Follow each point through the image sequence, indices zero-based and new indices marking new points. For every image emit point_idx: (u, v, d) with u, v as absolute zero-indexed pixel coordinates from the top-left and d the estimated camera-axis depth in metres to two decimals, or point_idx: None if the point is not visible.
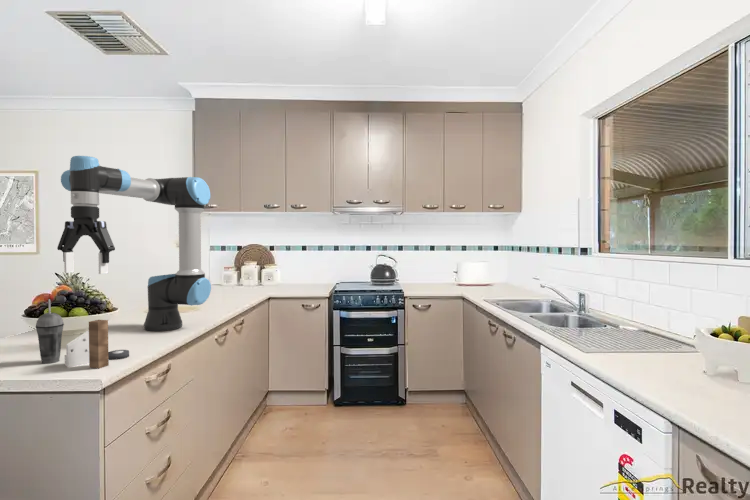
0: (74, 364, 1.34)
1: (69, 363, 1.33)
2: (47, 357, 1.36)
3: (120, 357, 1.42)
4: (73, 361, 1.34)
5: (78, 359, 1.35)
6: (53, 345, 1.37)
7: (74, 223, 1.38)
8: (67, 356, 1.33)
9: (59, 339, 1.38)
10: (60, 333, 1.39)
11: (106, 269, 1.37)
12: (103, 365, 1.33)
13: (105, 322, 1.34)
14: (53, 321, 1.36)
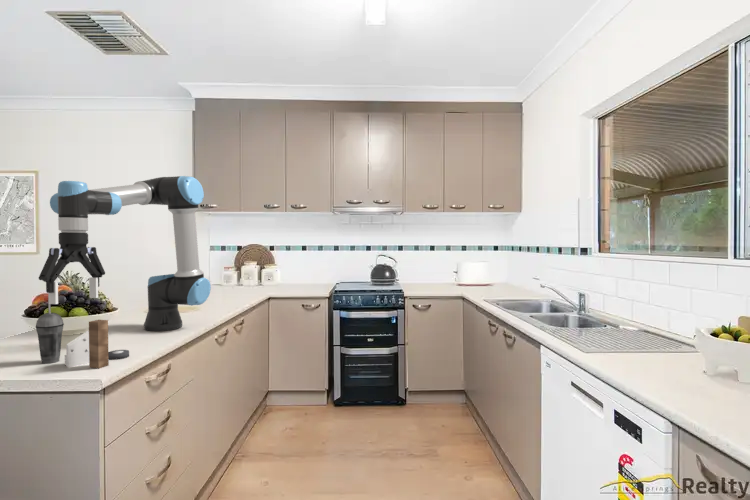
0: (74, 364, 1.34)
1: (69, 363, 1.33)
2: (47, 357, 1.36)
3: (120, 357, 1.42)
4: (73, 361, 1.34)
5: (78, 359, 1.35)
6: (53, 345, 1.37)
7: None
8: (67, 356, 1.33)
9: (59, 339, 1.38)
10: (60, 333, 1.39)
11: (54, 299, 1.28)
12: (103, 365, 1.33)
13: (105, 322, 1.34)
14: (53, 321, 1.36)
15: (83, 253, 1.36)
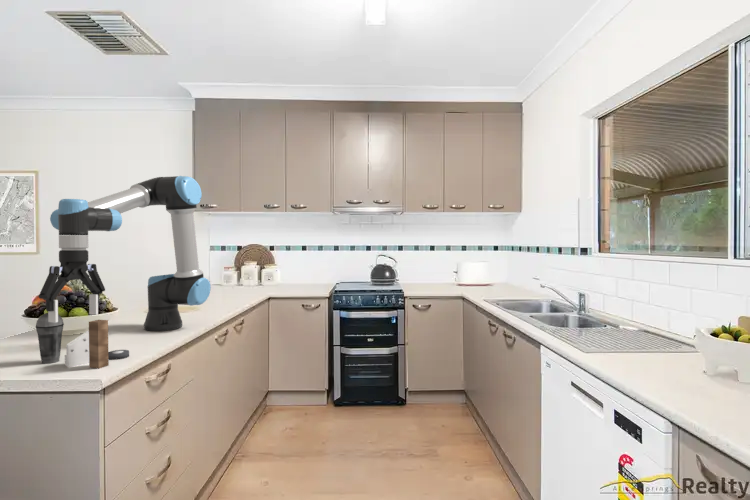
0: (74, 364, 1.34)
1: (69, 363, 1.33)
2: (47, 357, 1.36)
3: (120, 357, 1.42)
4: (73, 361, 1.34)
5: (78, 359, 1.35)
6: (53, 345, 1.37)
7: None
8: (67, 356, 1.33)
9: (59, 339, 1.38)
10: (60, 333, 1.39)
11: (54, 318, 1.28)
12: (103, 365, 1.33)
13: (105, 322, 1.34)
14: None
15: (83, 270, 1.36)
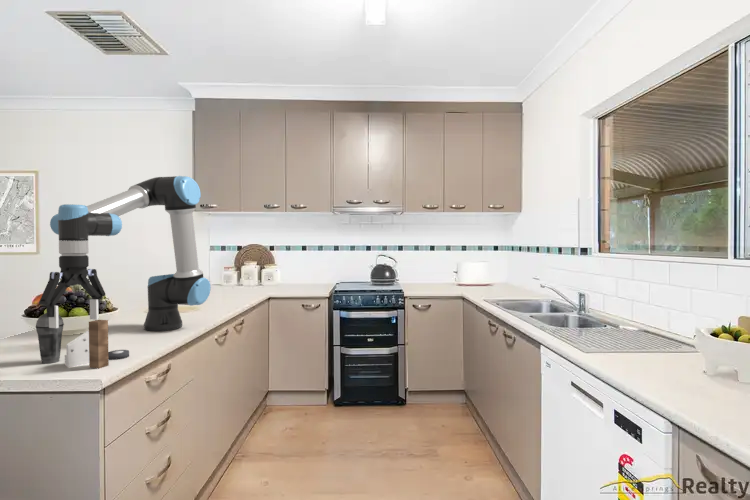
0: (74, 364, 1.34)
1: (69, 363, 1.33)
2: (47, 357, 1.36)
3: (120, 357, 1.42)
4: (73, 361, 1.34)
5: (79, 359, 1.35)
6: (53, 345, 1.37)
7: None
8: (67, 356, 1.33)
9: (59, 339, 1.38)
10: (60, 333, 1.39)
11: (54, 323, 1.28)
12: (103, 365, 1.33)
13: (105, 322, 1.34)
14: None
15: (83, 276, 1.36)
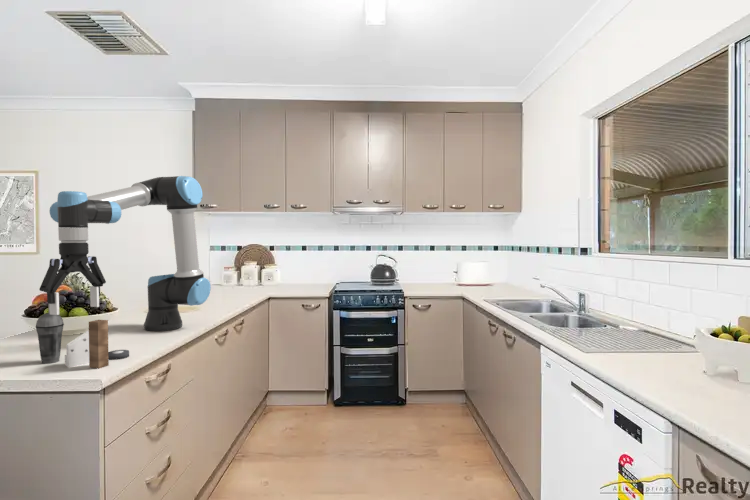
0: (74, 364, 1.34)
1: (69, 363, 1.33)
2: (47, 357, 1.36)
3: (120, 357, 1.42)
4: (73, 361, 1.34)
5: (79, 359, 1.35)
6: (53, 345, 1.37)
7: None
8: (67, 356, 1.33)
9: (59, 339, 1.38)
10: (60, 333, 1.39)
11: (55, 310, 1.28)
12: (103, 365, 1.33)
13: (105, 322, 1.34)
14: (53, 321, 1.36)
15: (83, 263, 1.36)
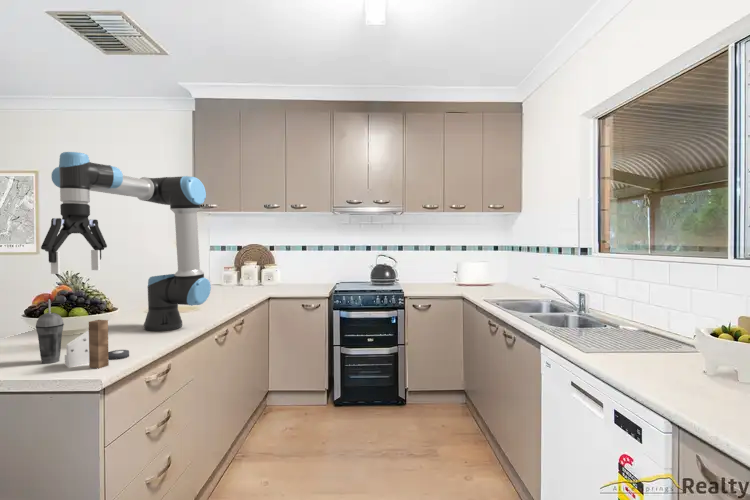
0: (74, 364, 1.34)
1: (69, 363, 1.33)
2: (47, 357, 1.36)
3: (120, 357, 1.42)
4: (73, 361, 1.34)
5: (79, 359, 1.35)
6: (53, 345, 1.37)
7: None
8: (67, 356, 1.33)
9: (59, 339, 1.38)
10: (60, 333, 1.39)
11: (56, 269, 1.29)
12: (103, 365, 1.33)
13: (105, 322, 1.34)
14: (53, 321, 1.36)
15: (85, 225, 1.36)
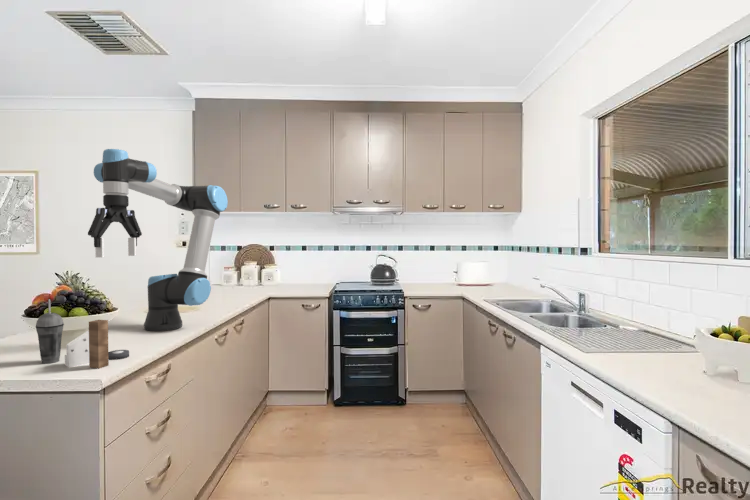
0: (74, 364, 1.34)
1: (69, 363, 1.33)
2: (47, 357, 1.36)
3: (120, 357, 1.42)
4: (73, 361, 1.34)
5: (79, 359, 1.35)
6: (53, 345, 1.37)
7: None
8: (67, 356, 1.33)
9: (59, 339, 1.38)
10: (60, 333, 1.39)
11: (100, 253, 1.44)
12: (103, 365, 1.33)
13: (105, 322, 1.34)
14: (53, 321, 1.36)
15: (124, 214, 1.52)
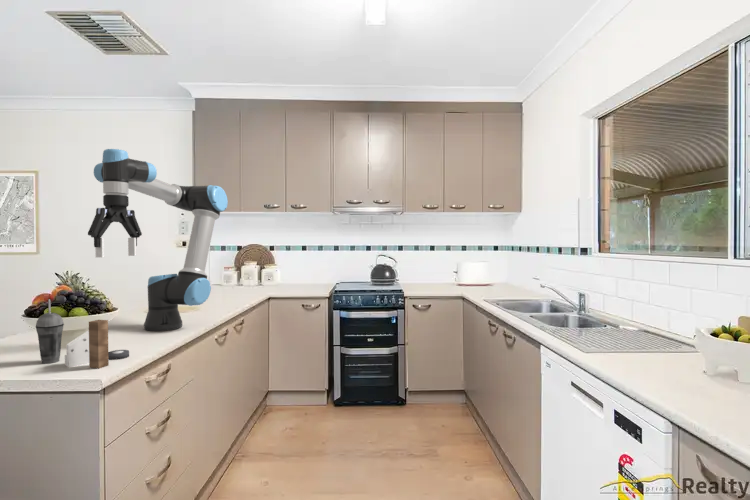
0: (74, 364, 1.34)
1: (69, 363, 1.33)
2: (47, 357, 1.36)
3: (120, 357, 1.42)
4: (73, 361, 1.34)
5: (79, 359, 1.35)
6: (53, 345, 1.37)
7: None
8: (67, 356, 1.33)
9: (59, 339, 1.38)
10: (60, 333, 1.39)
11: (100, 253, 1.44)
12: (103, 365, 1.33)
13: (105, 322, 1.34)
14: (53, 321, 1.36)
15: (124, 214, 1.52)
